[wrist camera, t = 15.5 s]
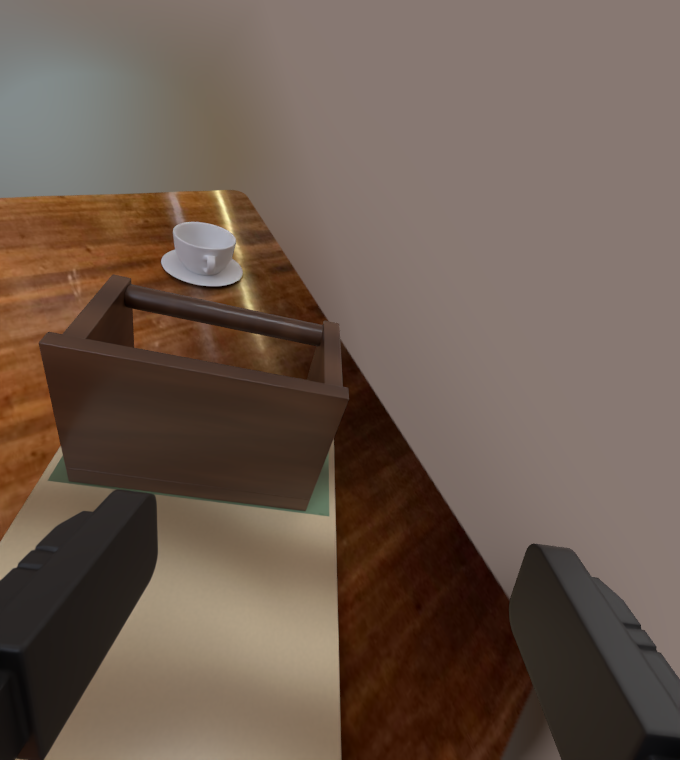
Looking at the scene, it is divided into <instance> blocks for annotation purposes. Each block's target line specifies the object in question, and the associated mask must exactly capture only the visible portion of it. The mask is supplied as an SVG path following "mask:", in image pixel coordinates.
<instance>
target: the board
mask: <svg viewBox="0 0 680 760" xmlns="http://www.w3.org/2000/svg"><path fill="white" fill-rule="evenodd" d="M116 489H121V490H129V491H137V492H145V493H152V494H154V495H155V497H156V501H157V530H158V557H157V563H156V567H155V570H154V573H153V576H152V578H151V580H150V582H149V584H148V586H147V587H146V589H145V591H144V592H143V594H142V596H141V598H140V599H139V601H138V603H137V604H136V606H135V608H134V609H133V611H132V613H131V614H130V616H129V618H128V619H127V621H126V623H125V624H124V626H123V628H122V629H121V631H120V633H119V635H118V636H117V638H116V640H115V641H114V643H113V645H112V646H111V648H110V650H109V651H108V653H107V655H106V656H105V658H104V660H103V661H102V663H101V665H100V667H99V668H98V670H97V672H96V673H95V675H94V677H93V678H92V680H91V682H90V683H89V685H88V687H87V688H86V690H85V692H84V693H83V695H82V697H81V698H80V700H79V702H78V704H77V705H76V707H75V709H74V710H73V712H72V714H71V715H70V717H69V719H68V720H67V722H66V724H65V725H64V727H63V729H62V730H61V732H60V734H59V735H58V737H57V739H56V741H55V742H54V744H53V746H52V747H51V749H50V751H49V752H48V754H47V756H46V757H45V759H44V760H341V721H340V679H339V637H338V596H337V554H336V512H335V470H334V439H333V442H332V444H331V447H330V449H329V452H328V455H327V457H326V460H325V462H324V465H323V468H322V470H321V473H320V475H319V478H318V481H317V483H316V486H315V488H314V491H313V493H312V496H311V499H310V501H309V504H308V506H307V509H306V511H300V510H292V509H284V508H276V507H268V506H260V505H252V504H244V503H236V502H228V501H220V500H212V499H205V498H197V497H189V496H181V495H173V494H165V493H157V492H149V491H141V490H133V489H125V488H117V487H109V486H102V485H94V484H86V483H78V482H70V481H68V476H67V471H66V467H65V462H64V458H63V453H62V449H61V446H60V448H59V449H58V451H57V453H56V454H55V456H54V457H53V459H52V461H51V462H50V464H49V465H48V467H47V469H46V470H45V472H44V473H43V475H42V476H41V478H40V480H39V481H38V483H37V484H36V486H35V488H34V489H33V491H32V492H31V494H30V496H29V497H28V499H27V500H26V502H25V504H24V505H23V507H22V508H21V510H20V512H19V513H18V515H17V516H16V518H15V520H14V521H13V523H12V524H11V526H10V528H9V529H8V531H7V532H6V534H5V535H4V537H3V539H2V540H1V542H0V580H1V579H2V578H4V577H5V576H6V575H7V574H8V573H9V572H10V571H11V570H12V569H13V568H17V566H18V563H19V562H20V561H21V560H22V559H23V558H24V557H25V556H26V555H27V554H28V553H29V552H30V551H31V550H35V548H36V545H37V544H38V543H39V542H40V541H41V540H42V539H43V538H44V537H45V536H47V535H48V534H49V533H50V532H51V531H52V530H53V529H54V528H55V527H56V526H57V525H59V524H61V523H62V522H64V521H66V520H68V519H69V518H71V517H73V516H75V515H76V514H78V513H80V512H82V511H91V512H93V511H94V510H95V509H96V508H97V507H98V506H99V505H100V504H101V503H102V502H103V501H104V500H105V499H106V498H107V497H108V495H109V494H110V493H111V492H113V491H114V490H116ZM15 760H23V759H15Z"/></svg>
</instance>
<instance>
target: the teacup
mask: <svg viewBox="0 0 680 760" xmlns="http://www.w3.org/2000/svg"><path fill="white" fill-rule="evenodd" d="M173 236H174V246H175V250H172V251H170V252H168V253H166V254H165V255H164V256H163V257H162V260H161V263H162V266H163V268H164V269H165V270H166V271H167V272H168V273H169V274H170V275H172V276H174V277H175V278H178V279H180V280H182V281H185V282H188V283H192V284H196V285H202V286H224V285H229V284H232V283H234V282H236V281H238V280H239V279H240V278H241V277H242V274H243V271H242V268H241V266H240V265H239V264H238V263H237V262H236V261H235V260H233V259H232V256H233V252H234V248H235V244H236V239H235V237H234V236H233V234H231V233H230V232H229V231H227V230H225V229H223V228H221V227H218V226H215V225H212V224H207V223H201V222H186V223H181V224H179V225H177V226H175V227H174V229H173Z"/></svg>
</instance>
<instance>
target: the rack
mask: <svg viewBox="0 0 680 760" xmlns="http://www.w3.org/2000/svg"><path fill="white" fill-rule="evenodd" d="M132 309H137V310H142V311H147V312H152V313H157V314H162V315H167V316H172V317H177V318H181V319H186V320H191V321H196V322H201V323H206V324H211V325H216V326H221V327H226V328H230V329H235V330H240V331H245V332H250V333H255V334H260V335H265V336H270V337H275V338H280V339H284V340H289V341H294V342H299V343H304V344H309V345H314V346H317V347H316V350H315V354H314V357H313V360H312V364H311V367H310V371H309V374H308V378H307V380H303V379H298V378H293V377H287V376H282V375H277V374H271V373H266V372H261V371H255V370H250V369H245V368H239V367H234V366H229V365H223V364H218V363H213V362H207V361H202V360H197V359H191V358H186V357H181V356H175V355H170V354H164V353H159V352H154V351H148V350H143V349H138V348H134V335H133V311H132ZM39 347H40V351H41V356H42V361H43V365H44V370H45V375H46V379H47V384H48V388H49V393H50V398H51V402H52V407H53V412H54V416H55V421H56V425H57V430H58V435H59V439H60V444H61V449H62V453H63V458H64V462H65V467H66V471H67V476H68V481H70V482H78V483H86V484H94V485H102V486H109V487H117V488H125V489H133V490H141V491H149V492H157V493H165V494H173V495H181V496H189V497H197V498H205V499H212V500H220V501H228V502H236V503H244V504H252V505H260V506H268V507H276V508H284V509H292V510H300V511H306V509H307V506H308V504H309V501H310V499H311V496H312V493H313V491H314V488H315V486H316V483H317V481H318V478H319V475H320V473H321V470H322V468H323V465H324V462H325V460H326V457H327V455H328V452H329V449H330V447H331V444H332V442H333V439H334V436H335V434H336V431H337V429H338V426H339V424H340V421H341V418H342V416H343V413H344V411H345V408H346V405H347V403H348V400H349V393H348V388H346V387H343V384H342V366H341V348H340V330H339V324H338V323H334V322H329V321H324V322H323V325H318V324H314V323H309V322H304V321H300V320H295V319H290V318H286V317H281V316H276V315H272V314H267V313H262V312H258V311H253V310H248V309H244V308H239V307H234V306H230V305H225V304H220V303H216V302H211V301H206V300H202V299H197V298H192V297H188V296H183V295H178V294H174V293H169V292H164V291H160V290H155V289H150V288H146V287H141V286H136V285H132V284H131V278H127V277H122V276H118V275H112V276H111V277H110V278H109V280H108V281H107V282H106V283H105V284H104V286H103V287H102V288H101V289H100V290H99V291H98V293H97V294H96V295H95V296H94V297H93V299H92V300H91V301H90V302H89V303H88V304H87V306H86V307H85V308H84V309H83V310H82V312H81V313H80V314H79V315H78V316H77V318H76V319H75V320H74V321H73V322H72V323H71V325H70V326H69V327H68V328H67V329H66V331H65V332H64V333H63V334H58V333H52V332H48V333H47V334H46V335H45V336H44V337H43V338H42V339H41V341H40V342H39Z"/></svg>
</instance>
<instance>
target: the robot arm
mask: <svg viewBox="0 0 680 760" xmlns="http://www.w3.org/2000/svg"><path fill="white" fill-rule="evenodd" d="M157 557H158V530H157V501H156V497H155V495H154V494H152V493H145V492H137V491H129V490H121V489H116V490H114V491H113V492H111V493H110V494H109V495H108V497H107V498H106V499H105V500H104V501H103V502H102V503H101V504H100V505H99V506H98V507H97V508H96V509H95V510H94V511H93V512H91V511H82V512H80V513H78V514H76V515H75V516H73V517H71V518H69V519H68V520H66V521H64V522H62V523H61V524H59V525H57V526H56V527H55V528H54V529H53V530H52V531H51V532H50V533H49V534H48V535H47V536H45V537H44V538H43V539H42V540H41V541H40V542H39V543H38V544H37V545H36V548H35V550H31V551H30V552H29V553H28V554H27V555H26V556H25V557H24V558H23V559H22V560H21V561H20V562H19V563H18V566H17V568H13V569H12V570H11V571H10V572H9V573H8V574H7V575H6V576H5V577H4V578H2V579H1V580H0V760H15V759H23V760H44V759H45V757H46V756H47V754H48V752H49V751H50V749H51V747H52V746H53V744H54V742H55V741H56V739H57V737H58V735H59V734H60V732H61V730H62V729H63V727H64V725H65V724H66V722H67V720H68V719H69V717H70V715H71V714H72V712H73V710H74V709H75V707H76V705H77V704H78V702H79V700H80V698H81V697H82V695H83V693H84V692H85V690H86V688H87V687H88V685H89V683H90V682H91V680H92V678H93V677H94V675H95V673H96V672H97V670H98V668H99V667H100V665H101V663H102V661H103V660H104V658H105V656H106V655H107V653H108V651H109V650H110V648H111V646H112V645H113V643H114V641H115V640H116V638H117V636H118V635H119V633H120V631H121V629H122V628H123V626H124V624H125V623H126V621H127V619H128V618H129V616H130V614H131V613H132V611H133V609H134V608H135V606H136V604H137V603H138V601H139V599H140V598H141V596H142V594H143V592H144V591H145V589H146V587H147V586H148V584H149V582H150V580H151V578H152V576H153V573H154V570H155V567H156V563H157ZM509 617H510V624H511V628H512V631H513V634H514V637H515V639H516V642H517V645H518V647H519V650H520V652H521V655H522V658H523V660H524V663H525V665H526V668H527V671H528V673H529V676H530V678H531V681H532V684H533V686H534V689H535V691H536V694H537V697H538V699H539V702H540V704H541V707H542V710H543V712H544V715H545V717H546V720H547V722H548V725H549V728H550V731H551V733H552V736H553V738H554V741H555V743H556V746H557V749H558V751H559V754H560V757H561V759H562V760H680V679H679V678H678V676H677V675H676V674H675V672H674V671H673V669H672V668H671V667H670V665H669V664H668V662H667V661H666V660H665V658H664V657H663V655H662V654H661V653H659V652H657V650H656V646H655V644H654V643H653V641H652V640H651V639H650V637H649V636H648V635H647V633H646V632H645V630H641V625H640V623H639V622H638V620H637V619H636V618H635V616H634V615H633V613H632V612H631V611H630V609H629V608H628V606H627V605H626V604H625V602H624V601H623V600H622V599H621V598H620V597H619V596H618V595H617V594H616V593H614V592H613V591H612V590H611V589H610V588H609V587H608V586H607V585H605V584H604V583H603V582H602V581H601V580H600V579H599V578H595V577H591V576H590V574H589V573H588V571H587V570H586V568H585V567H584V565H583V564H582V562H581V561H580V559H579V558H578V556H577V555H576V554H575V552H574V551H573V550H571V549H570V548H564V547H556V546H548V545H540V544H531V545H530V546H529V547H528V548H527V551H526V553H525V556H524V559H523V562H522V565H521V568H520V571H519V574H518V577H517V580H516V583H515V586H514V589H513V592H512V595H511V598H510V603H509Z"/></svg>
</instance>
